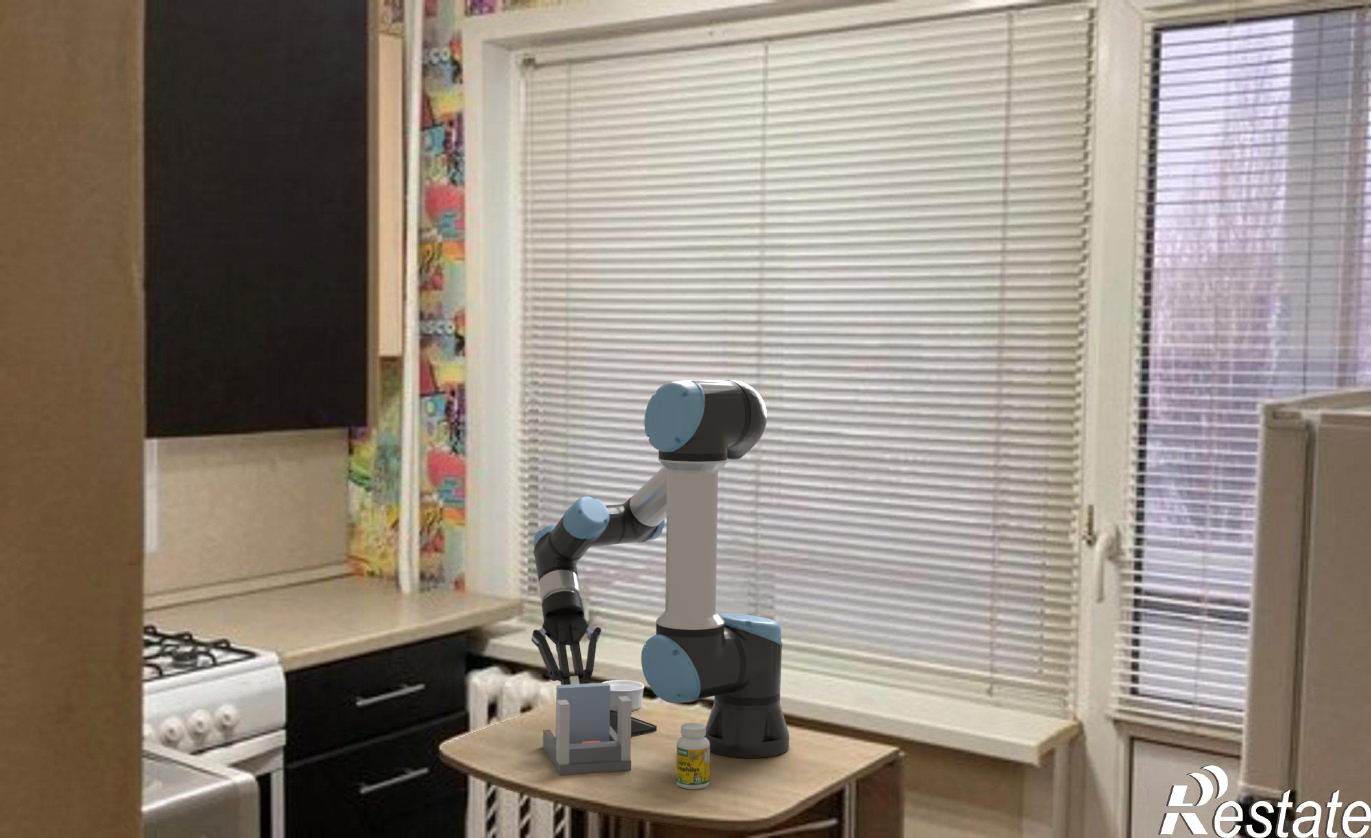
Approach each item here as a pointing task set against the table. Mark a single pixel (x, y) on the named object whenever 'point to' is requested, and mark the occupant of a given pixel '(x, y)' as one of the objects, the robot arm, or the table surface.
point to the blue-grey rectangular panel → (587, 711)
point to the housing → (590, 744)
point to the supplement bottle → (693, 757)
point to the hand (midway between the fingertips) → (577, 712)
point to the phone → (632, 725)
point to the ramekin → (625, 693)
